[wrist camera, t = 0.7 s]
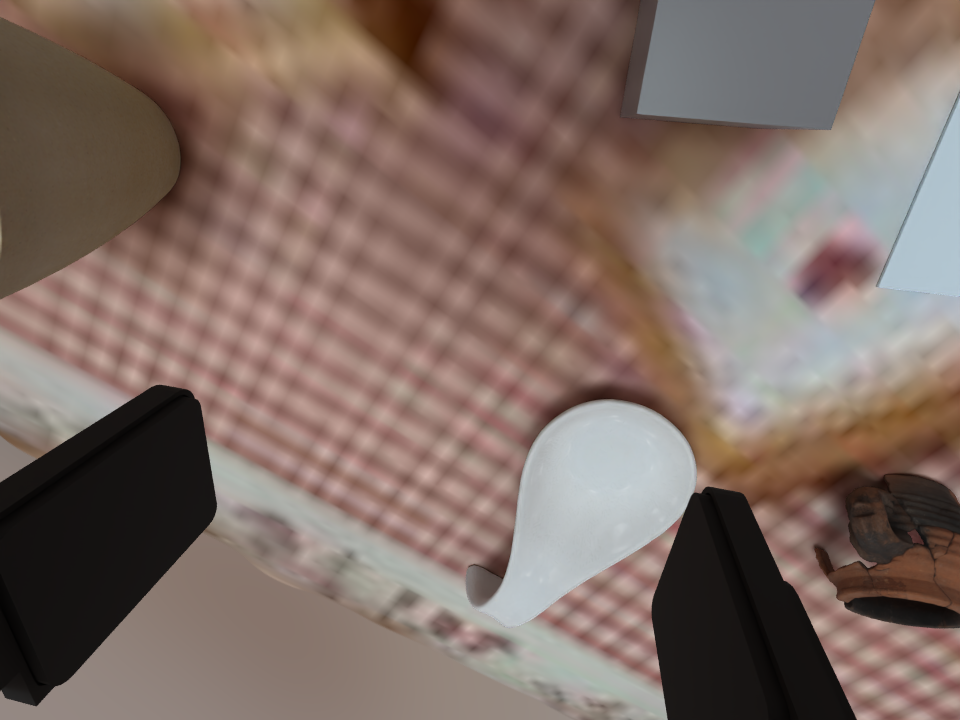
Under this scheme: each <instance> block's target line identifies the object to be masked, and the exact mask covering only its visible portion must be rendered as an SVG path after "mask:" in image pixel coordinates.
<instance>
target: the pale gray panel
mask: <svg viewBox="0 0 960 720" xmlns="http://www.w3.org/2000/svg"><path fill="white" fill-rule="evenodd" d="M876 287H879V288H888V289H897V290H905V291H914V292H923V293H931V294H940V295H949V296H957V297H960V93H959V95H958V98H957V100H956V102H955V105H954V107H953V109H952V112H951V114H950V116H949V119H948V121H947V123H946V126H945V128H944V130H943V133H942V135H941V137H940V140H939V142H938V144H937V147H936V149H935V151H934V153H933V156H932V158H931V160H930V163H929V165H928V167H927V170H926V172H925V174H924V177H923V179H922V181H921V184H920V186H919V188H918V191H917V193H916V195H915V198H914V200H913V202H912V205H911V207H910V209H909V212H908V214H907V216H906V219H905V221H904V223H903V226H902V228H901V230H900V233H899V235H898V237H897V240H896V242H895V244H894V246H893V249H892V251H891V253H890V256H889V258H888V260H887V263H886V265H885V267H884V270H883V272H882V274H881V277H880V279H879V281H878V284H877V286H876Z"/></svg>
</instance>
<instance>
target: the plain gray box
mask: <svg viewBox="0 0 960 720" xmlns="http://www.w3.org/2000/svg"><path fill="white" fill-rule="evenodd" d="M874 3H875V0H641V1H640V7H639V12H638V18H637V24H636V29H635V35H634V41H633V46H632V52H631V58H630V63H629V69H628V75H627V80H626V86H625V91H624V97H623V103H622V108H621V114H620V117H624V118H636V119H648V120H660V121H673V122H685V123H697V124H709V125H721V126H733V127H745V128H757V129H808V130H831V128H832V125H833V122H834V119H835V116H836V114H837V111H838V108H839V105H840V102H841V99H842V96H843V93H844V90H845V87H846V84H847V81H848V78H849V76H850V73H851V70H852V67H853V64H854V61H855V58H856V55H857V52H858V49H859V46H860V43H861V41H862V38H863V35H864V32H865V29H866V26H867V23H868V20H869V17H870V14H871V11H872V8H873V6H874Z"/></svg>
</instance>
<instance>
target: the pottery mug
mask: <svg viewBox="0 0 960 720" xmlns="http://www.w3.org/2000/svg"><path fill="white" fill-rule="evenodd" d="M884 480H885V482H886V484H887V485H888V490H889V492H887V491H885V490H882V489H880V488H876V487H861V488H857V489H855V490H854V491H853V492H852V493H850V494H849V495H848V496H847V497H846V510H847V512H848V517H849V520H850V523H849V524H848V527H849V532H850V542H851V544H852V545H853V546H854V548H855V549H856V550H857V552H858V554H859V556H860V557H862V558H863V559H864V560H866V561H869V562H876V563H877V564H876V565H875V566H873V567H870V568H867V567H866V566H865V565H864V564H863V563H862V562H860V561H857V562H854V563H852V564H849V565H847V566H846V565H845V566H842V567H840V568H839V569H838V570H836V571H834V569H833V567H832V565H831V562H830V559H829V556H828V554H827V552H826V551H824V550H822V549H819V548H815V552H816V558H817V560H818V561H819V566H820V568H821V569H822V570H823V572H824V574H825V575H826V576H827V578H828V579H829V581H830V582H832V583H833V584H834V585H835V586H836V587H837V595H836V598H837V599H838V600H840V601H844V605H845V608H846V609H848V610H850V611H852V612H855V613H857V614H860V615H863V616H866V617H870V618H873V619H877V620H881V621H886V622H891V623H896V624H902V625H908V626H917V627H927V628H960V504H959V503H958V501H957V498H956V496H955V495H954V493H953V492H951V491H950V490H949V489H947V488H946V487H945V486H943V485H940V484H938V483H936V482H934V481H932V480H927V479H924V478H921V477H916V476H910V475H894V474H887V475H885V476H884ZM913 529H916V530H917V532H918V533H919V535H920V537H921V539H922V540H923V542H924V545H922V544H919V543H914V544H913V543H912V538H911V537H910V536H909V535H908V534H907V533H908V532H909V531H911V530H913Z"/></svg>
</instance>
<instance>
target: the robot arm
mask: <svg viewBox="0 0 960 720" xmlns="http://www.w3.org/2000/svg"><path fill="white" fill-rule="evenodd" d="M216 509H217V502H216V496H215V490H214V484H213V477H212V471H211V465H210V459H209V453H208V447H207V441H206V435H205V429H204V422H203V416H202V410H201V405H200V402H199V401H198V400H197V399H195V398H194V395H193V394H192V392H191V391H189V390H187V389H181V388H176V387H171V386H165V385H156V386H153V387H151V388H149V389H148V390H146V391H145V392H143V393H142V394H140V395H138V396H137V397H135V398H134V399H132V400H130V401H129V402H127V403H126V404H124V405H122V406H121V407H119V408H118V409H116V410H115V411H113V412H111V413H110V414H108V415H107V416H105V417H103V418H102V419H100V420H99V421H97V422H95V423H94V424H92V425H91V426H89V427H88V428H86V429H84V430H83V431H81V432H80V433H78V434H76V435H75V436H73V437H72V438H70V439H68V440H67V441H65V442H64V443H62V444H61V445H59V446H57V447H56V448H54V449H53V450H51V451H49V452H48V453H46V454H45V455H43V456H41V457H40V458H38V459H37V460H35V461H34V462H32V463H30V464H29V465H27V466H26V467H24V468H22V469H21V470H19V471H18V472H16V473H15V474H13V475H11V476H10V477H8V478H7V479H5V480H3V481H2V482H0V691H1V690H2V692H3V694H4V696H5V698H7V699H11V700H15V701H18V702H22V703H26V704H30V705H33V706H37V705H38V704H39V703H40V702H41V701H42V700H43V699H44V698H45V696H46V695H47V694H48V693H49V692H50V691H51V690H52V689H53V688H54V687H55V686H58V685H61V684H63V683H64V682H66V681H67V680H69V678H71V677H72V676H73V675H74V674H75V672H76V671H77V670H78V669H79V668H80V667H81V666H82V665H83V664H84V662H85V661H86V660H87V659H88V658H89V657H90V656H91V655H92V654H93V653H94V651H95V650H96V649H97V648H98V647H99V646H100V645H101V644H102V642H103V641H104V640H105V639H106V638H107V637H108V636H109V635H110V633H112V631H113V630H114V629H115V628H116V627H117V626H118V625H119V624H120V623H121V622H122V621H123V619H124V618H125V617H126V616H127V615H128V614H129V613H130V612H131V611H132V609H133V608H134V607H135V606H136V605H137V604H138V603H139V602H140V601H141V600H142V598H143V597H144V596H145V595H146V594H147V593H148V592H149V591H150V590H151V588H152V587H153V586H154V585H155V584H156V583H157V582H158V581H159V579H161V577H162V576H163V575H164V574H165V573H166V572H167V571H168V570H169V568H170V567H171V566H172V565H173V564H174V563H175V562H176V561H177V560H178V558H179V557H180V556H181V555H182V554H183V553H184V552H185V551H186V550H187V549H188V547H189V546H190V545H191V544H192V543H193V542H194V541H195V540H196V539H197V538H198V536H199V535H200V534H201V533H202V532H203V531H204V530H205V529H206V528H207V527H208V525H209V524H210V523H211V522H212V520H213V518H214V516H215V513H216ZM652 622H653V628H654V635H655V641H656V647H657V654H658V660H659V667H660V673H661V680H662V686H663V692H664V699H665V705H666V712H667V718H668V720H857V719H856V717H855V715H854V713H853V711H852V708H851V706H850V704H849V702H848V700H847V698H846V696H845V694H844V691H843V689H842V687H841V685H840V683H839V681H838V679H837V677H836V674H835V672H834V670H833V668H832V666H831V664H830V662H829V660H828V658H827V655H826V653H825V651H824V649H823V647H822V645H821V643H820V641H819V638H818V636H817V634H816V632H815V630H814V628H813V626H812V624H811V621H810V619H809V617H808V615H807V613H806V611H805V609H804V607H803V605H802V602H801V600H800V598H799V596H798V594H797V593H796V591H795V590H794V588H793V586H791V585H790V584H789V583H788V582H786V581H784V580H783V578H782V576H781V574H780V572H779V569H778V567H777V565H776V563H775V561H774V558H773V556H772V554H771V552H770V550H769V547H768V545H767V543H766V541H765V539H764V536H763V534H762V532H761V530H760V528H759V525H758V523H757V521H756V519H755V517H754V514H753V512H752V510H751V508H750V506H749V503H748V501H747V499H746V497H745V496H744V494H742V493H740V492H735V491H730V490H724V489H719V488H714V487H706V488H705V489H704V490H703V491H702V493H701V494H700V493H693V494H692V495H691V497H690V499H689V502H688V505H687V507H686V510H685V513H684V516H683V518H682V521H681V524H680V526H679V529H678V532H677V534H676V537H675V540H674V543H673V545H672V548H671V551H670V553H669V556H668V559H667V561H666V564H665V567H664V570H663V572H662V575H661V578H660V580H659V583H658V586H657V589H656V591H655V594H654V597H653V602H652Z"/></svg>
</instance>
